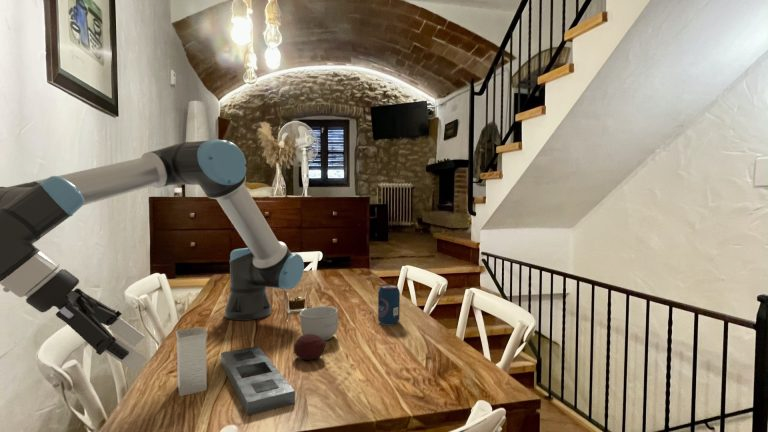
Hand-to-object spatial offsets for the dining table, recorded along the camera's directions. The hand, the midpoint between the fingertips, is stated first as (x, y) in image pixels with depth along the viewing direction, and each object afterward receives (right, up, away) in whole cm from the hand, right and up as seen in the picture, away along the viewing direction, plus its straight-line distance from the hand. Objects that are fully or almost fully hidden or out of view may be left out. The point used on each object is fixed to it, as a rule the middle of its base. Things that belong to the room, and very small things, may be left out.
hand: (140, 352), depth 81 cm
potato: (+30, -9, +21) cm, 38 cm away
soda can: (+50, -8, +51) cm, 72 cm away
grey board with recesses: (+20, -9, +9) cm, 23 cm away
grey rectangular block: (+8, -9, +5) cm, 13 cm away
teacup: (+30, -8, +38) cm, 49 cm away
